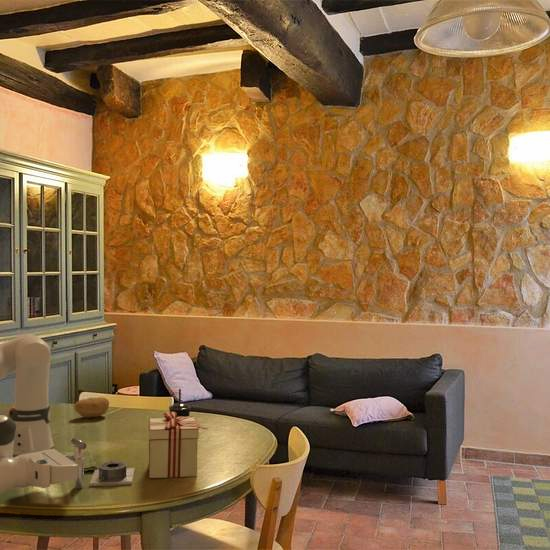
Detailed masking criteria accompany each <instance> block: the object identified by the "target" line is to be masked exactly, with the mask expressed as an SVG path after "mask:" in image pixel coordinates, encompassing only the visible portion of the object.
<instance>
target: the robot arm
mask: <svg viewBox="0 0 550 550" xmlns="http://www.w3.org/2000/svg"><path fill="white" fill-rule="evenodd" d="M51 353H52V352H51V347H50V346H49V344H48V343H47V342H46V341H45V340H43V339H42V338H41V337H39V336H38V335H35V334H31V333H30V334H23V335H21V336H18V337H15V338H12V339H10V340H8V341H5V342H2V343H0V380H2V379H3V378H6V377H7V376H9V375H11V374H13V373H15V378H14V406H12V407H10V408H9V410H8V413H7V415H6V414H2V413H0V493H5V492H8V491H11V490H13V489H17V488H21V489H22V488H29V487H35V488H36V487H37V488H41V489H46V488H50V487H51V485H58V484H63V483H66V482H69V481H72V480H73V481H74V479H75V478H77V477H78V475H79V468H78V466H81V465H84V464H85V459H84V458H78V459H77V460H74V455H62V454H61V453H62V452H59V451H58V450H56V449H55V448H53V447H54V442H53V438H52V433H51V432H52V431H51V426H50V422H51V409H50V408H51V406H50V404H49V381H50V371H51V370H50V369H51V357H52V355H51Z"/></svg>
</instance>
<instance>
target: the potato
mask: <svg viewBox="0 0 550 550" xmlns="http://www.w3.org/2000/svg"><path fill="white" fill-rule="evenodd" d="M109 407H110V401H109V399H108V398H107V397H105V396H104V397H103V396H102V397H101V396H99V397H89V398H82V399H79V400H78V401H76V402H75V403H74V406H73V408H74V411H75V412H76V413H77V414H78V415H80V416H81V417H83V418H88V419H90V418H91V419H92V417H94V418H97V417H98V418H99V417H100V416H101V417H102V415H104V414H106V413H107V411H108V410H109Z"/></svg>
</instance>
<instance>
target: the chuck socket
mask: <svg viewBox="0 0 550 550" xmlns="http://www.w3.org/2000/svg"><path fill="white" fill-rule="evenodd" d="M135 469H136V468H135V467H128V464H127V463H126V462H124V461H119V460H113V461H111V460H110V461H106V462H103V463H99V466H98V470H93V471H94V472H93V474H92V476H91V478H90V482H89V487H107V486H108V487H109V486H126V485H127V486H128V485H130V486H131V485H133V480H134V477H135V476H134V475H135Z"/></svg>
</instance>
